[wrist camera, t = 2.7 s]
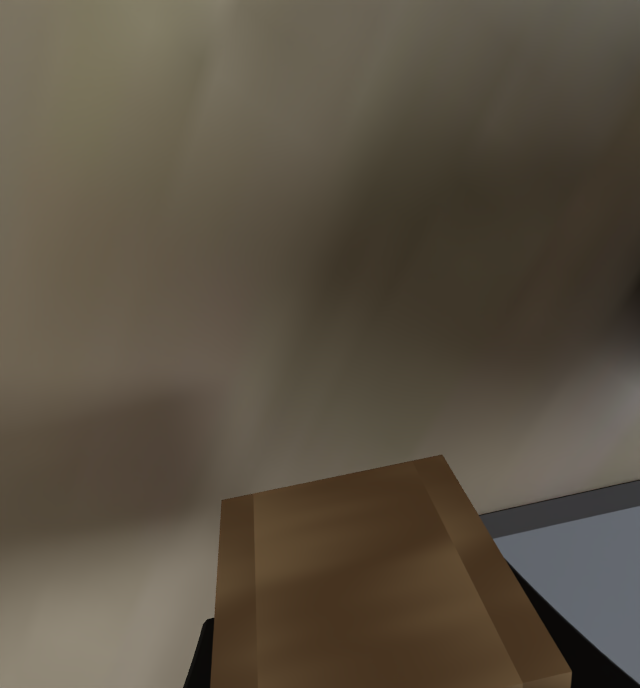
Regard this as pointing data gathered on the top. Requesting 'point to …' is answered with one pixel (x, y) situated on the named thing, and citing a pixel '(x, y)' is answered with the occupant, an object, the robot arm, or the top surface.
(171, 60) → the top surface
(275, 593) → the wooden cubby box
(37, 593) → the top surface
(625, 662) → the flat gray board
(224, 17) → the top surface
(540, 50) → the top surface
